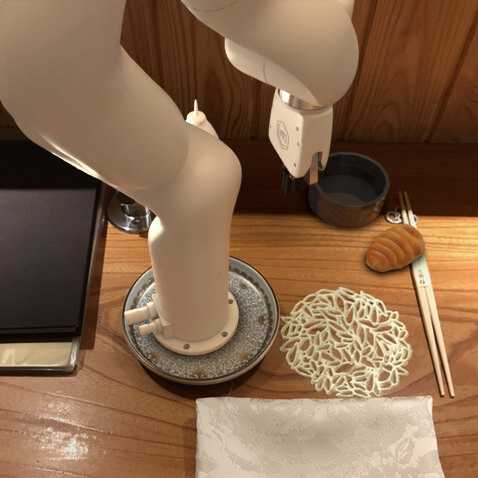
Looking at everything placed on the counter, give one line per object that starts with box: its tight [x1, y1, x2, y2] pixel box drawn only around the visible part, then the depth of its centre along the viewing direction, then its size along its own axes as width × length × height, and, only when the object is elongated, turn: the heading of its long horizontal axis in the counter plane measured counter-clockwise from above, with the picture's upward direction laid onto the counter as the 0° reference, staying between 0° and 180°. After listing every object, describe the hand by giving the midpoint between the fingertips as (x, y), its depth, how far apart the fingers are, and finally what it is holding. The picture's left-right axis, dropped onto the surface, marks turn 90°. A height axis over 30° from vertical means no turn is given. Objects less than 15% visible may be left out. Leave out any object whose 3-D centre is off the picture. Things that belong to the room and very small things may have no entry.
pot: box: [307, 151, 391, 229], centre depth 91 cm, size 12×12×5 cm
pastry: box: [365, 223, 427, 273], centre depth 86 cm, size 9×7×4 cm
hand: (292, 190), depth 86 cm, fingers closed
